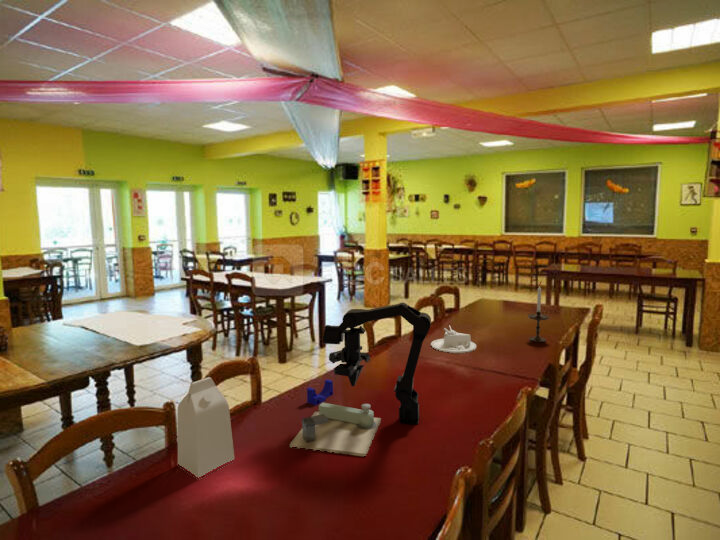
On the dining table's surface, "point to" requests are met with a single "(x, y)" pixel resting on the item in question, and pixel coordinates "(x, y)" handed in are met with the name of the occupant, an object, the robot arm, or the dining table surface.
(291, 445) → the base board
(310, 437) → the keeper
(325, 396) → the cable clip
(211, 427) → the milk
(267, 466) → the dining table surface
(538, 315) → the candlestick
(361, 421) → the latch bar
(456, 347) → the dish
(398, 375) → the robot arm
